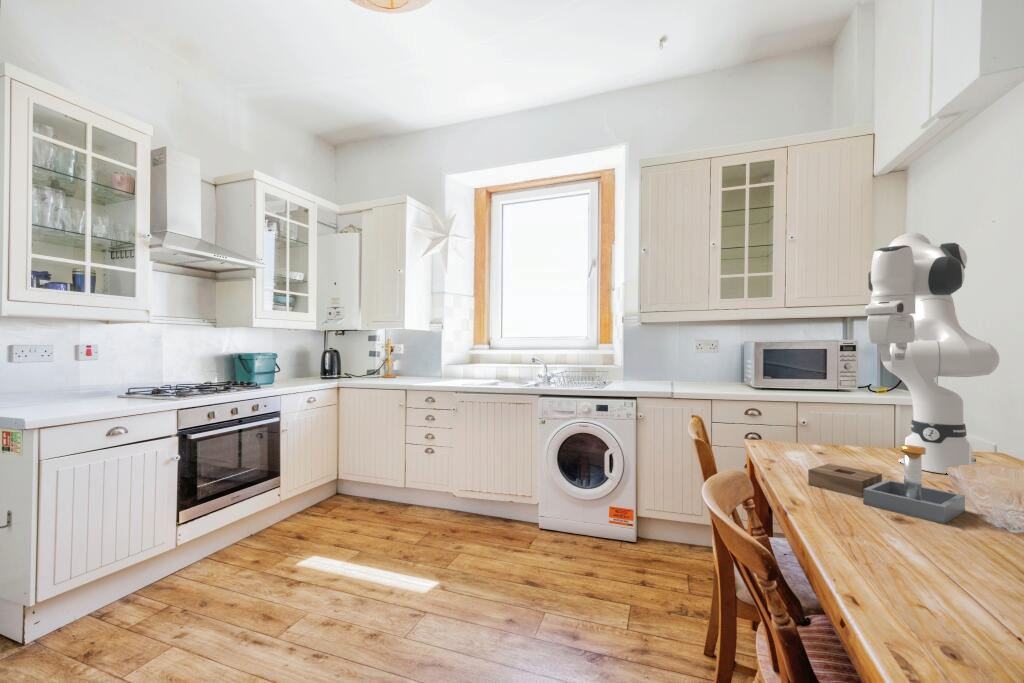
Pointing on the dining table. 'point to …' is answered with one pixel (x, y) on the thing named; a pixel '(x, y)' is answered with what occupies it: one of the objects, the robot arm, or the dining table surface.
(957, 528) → the dining table surface
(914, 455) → the clear capped tube
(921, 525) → the dining table surface
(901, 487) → the tray
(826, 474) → the block
